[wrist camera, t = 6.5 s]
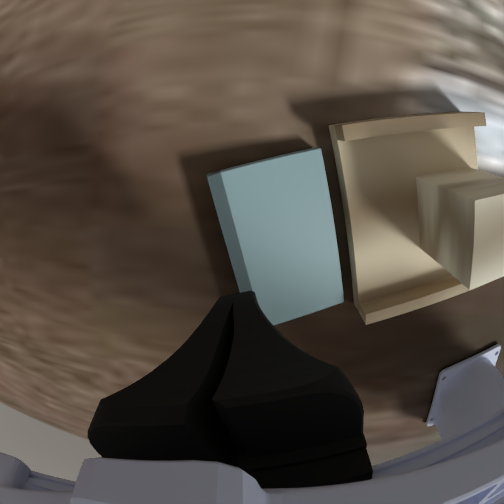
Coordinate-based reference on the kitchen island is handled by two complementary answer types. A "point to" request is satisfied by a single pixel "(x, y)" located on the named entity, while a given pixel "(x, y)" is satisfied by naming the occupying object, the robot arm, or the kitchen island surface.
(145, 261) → the kitchen island surface
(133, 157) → the kitchen island surface
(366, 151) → the bed
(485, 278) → the beige rectangular block
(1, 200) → the kitchen island surface
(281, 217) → the panel
